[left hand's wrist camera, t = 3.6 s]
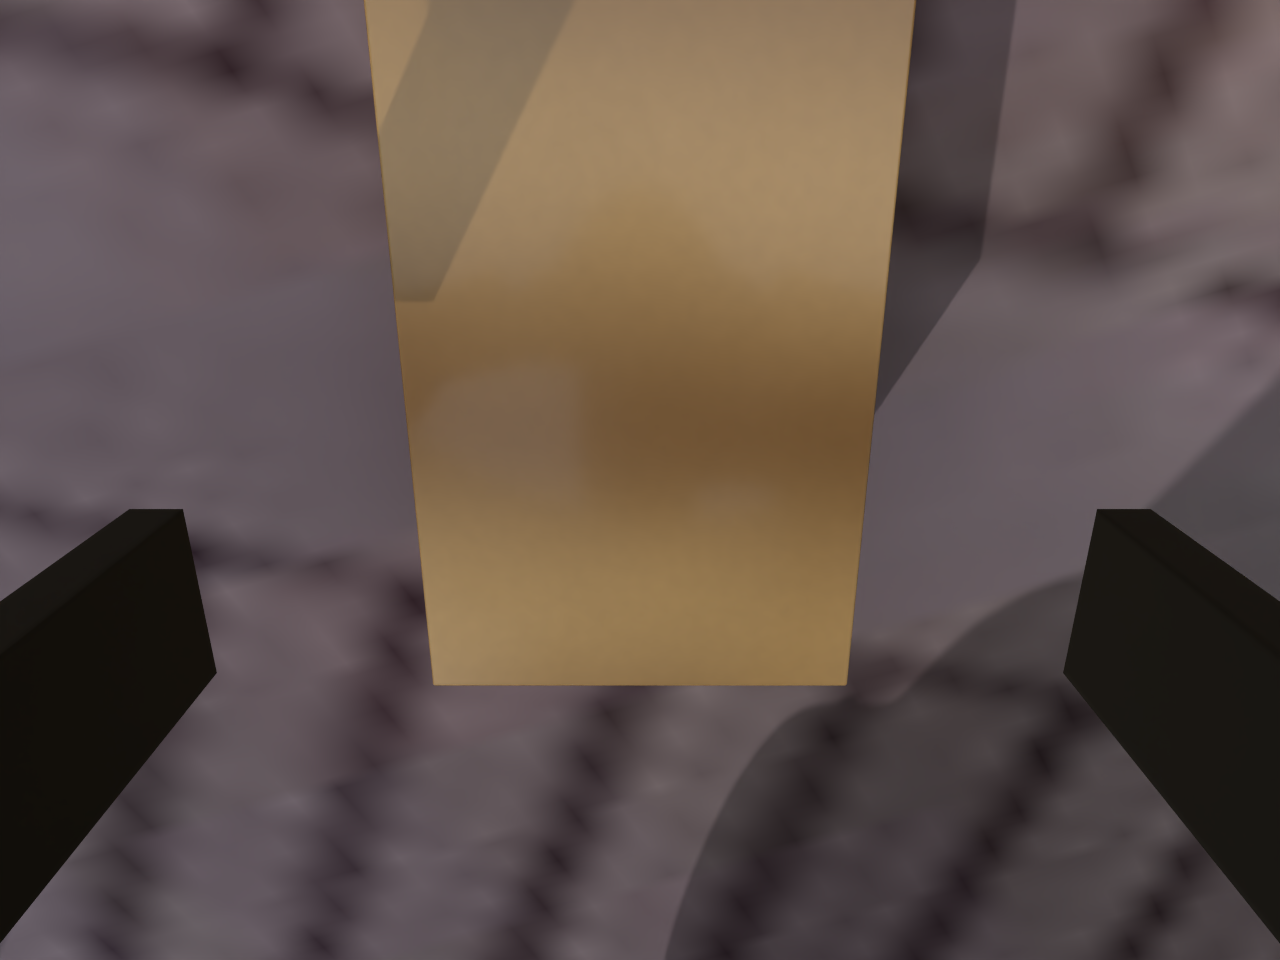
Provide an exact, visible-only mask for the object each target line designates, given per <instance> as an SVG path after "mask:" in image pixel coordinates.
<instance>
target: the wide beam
mask: <svg viewBox="0 0 1280 960" xmlns="http://www.w3.org/2000/svg"><path fill="white" fill-rule="evenodd" d="M364 7H365V17H366V27H367V37H368V47H369V56H370V66H371V76H372V86H373V96H374V106H375V115H376V125H377V135H378V145H379V155H380V165H381V175H382V184H383V194H384V204H385V214H386V224H387V234H388V243H389V253H390V263H391V273H392V283H393V293H394V302H395V312H396V322H397V332H398V342H399V352H400V362H401V371H402V381H403V391H404V401H405V411H406V421H407V430H408V440H409V450H410V460H411V470H412V480H413V490H414V499H415V509H416V519H417V529H418V539H419V549H420V558H421V568H422V578H423V588H424V598H425V608H426V617H427V627H428V637H429V647H430V657H431V667H432V677H433V684H434V685H846V684H847V677H848V667H849V657H850V648H851V638H852V628H853V618H854V608H855V598H856V589H857V579H858V569H859V559H860V549H861V539H862V530H863V520H864V510H865V500H866V490H867V480H868V470H869V461H870V451H871V441H872V431H873V421H874V411H875V402H876V392H877V382H878V372H879V362H880V352H881V343H882V333H883V323H884V313H885V303H886V293H887V284H888V274H889V264H890V254H891V244H892V234H893V225H894V215H895V205H896V195H897V185H898V175H899V165H900V156H901V146H902V136H903V126H904V116H905V106H906V97H907V87H908V77H909V67H910V57H911V47H912V38H913V28H914V18H915V8H916V0H364Z"/></svg>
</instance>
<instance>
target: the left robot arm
mask: <svg viewBox="0 0 1280 960" xmlns="http://www.w3.org/2000/svg"><path fill="white" fill-rule="evenodd" d="M216 673H217V672H216V667H215V662H214V657H213V653H212V648H211V643H210V638H209V633H208V628H207V624H206V619H205V614H204V609H203V604H202V599H201V595H200V590H199V585H198V580H197V575H196V570H195V566H194V561H193V556H192V551H191V546H190V541H189V537H188V532H187V527H186V522H185V517H184V512H183V509H129V510H128V511H126V512H125V513H123V514H122V515H121V516H119V517H118V518H116V519H115V520H114V521H112V522H111V523H109V524H108V525H107V526H105V527H104V528H102V529H101V530H100V531H98V532H97V533H95V534H94V535H93V536H91V537H90V538H88V539H87V540H86V541H84V542H83V543H81V544H80V545H79V546H77V547H76V548H74V549H73V550H72V551H70V552H69V553H67V554H66V555H65V556H63V557H62V558H60V559H59V560H58V561H56V562H55V563H53V564H52V565H51V566H49V567H48V568H46V569H45V570H44V571H42V572H41V573H39V574H38V575H37V576H35V577H34V578H32V579H31V580H30V581H28V582H27V583H25V584H24V585H23V586H21V587H20V588H18V589H17V590H16V591H14V592H13V593H11V594H10V595H9V596H7V597H6V598H4V599H3V600H2V601H0V943H1V941H2V940H3V939H4V938H5V937H6V935H7V934H8V933H9V932H10V930H11V929H12V928H13V927H14V925H15V924H16V923H17V922H18V920H19V919H20V918H21V917H22V915H23V914H24V913H25V912H26V910H27V909H28V908H29V907H30V905H31V904H32V903H33V902H34V900H35V899H36V898H37V897H38V895H39V894H40V893H41V892H42V890H43V889H44V888H45V887H46V885H47V884H48V883H49V882H50V880H51V879H52V878H53V877H54V875H55V874H56V873H57V872H58V870H59V869H60V868H61V867H62V865H63V864H64V863H65V862H66V860H67V859H68V858H69V857H70V855H71V854H72V853H73V852H74V850H75V849H76V848H77V847H78V845H79V844H80V843H81V842H82V840H83V839H84V838H85V837H86V835H87V834H88V833H89V832H90V830H91V829H92V828H93V827H94V825H95V824H96V823H97V822H98V820H99V819H100V818H101V817H102V815H103V814H104V813H105V812H106V810H107V809H108V808H109V807H110V805H111V804H112V803H113V802H114V800H115V799H116V798H117V797H118V795H119V794H120V793H121V792H122V790H123V789H124V788H125V787H126V785H127V784H128V783H129V782H130V780H131V779H132V778H133V777H134V775H135V774H136V773H137V772H138V771H139V769H140V768H141V767H142V766H143V764H144V763H145V762H146V761H147V759H148V758H149V757H150V756H151V754H152V753H153V752H154V751H155V749H156V748H157V747H158V746H159V744H160V743H161V742H162V741H163V739H164V738H165V737H166V736H167V734H168V733H169V732H170V731H171V729H172V728H173V727H174V726H175V724H176V723H177V722H178V721H179V719H180V718H181V717H182V716H183V714H184V713H185V712H186V711H187V709H188V708H189V707H190V706H191V704H192V703H193V702H194V701H195V699H196V698H197V697H198V696H199V694H200V693H201V692H202V691H203V689H204V688H205V687H206V686H207V684H208V683H209V682H210V681H211V679H212V678H213V677H214V676H215V674H216ZM1063 673H1064V674H1065V676H1066V677H1067V678H1068V679H1069V681H1070V682H1071V683H1072V684H1073V686H1074V687H1075V688H1076V689H1077V691H1078V692H1079V693H1080V694H1081V696H1082V697H1083V698H1084V699H1085V701H1086V702H1087V703H1088V704H1089V706H1090V707H1091V708H1092V709H1093V711H1094V712H1095V713H1096V714H1097V716H1098V717H1099V718H1100V719H1101V721H1102V722H1103V723H1104V724H1105V726H1106V727H1107V728H1108V729H1109V731H1110V732H1111V733H1112V734H1113V736H1114V737H1115V738H1116V739H1117V741H1118V742H1119V743H1120V744H1121V746H1122V747H1123V748H1124V749H1125V751H1126V752H1127V753H1128V754H1129V756H1130V757H1131V758H1132V759H1133V761H1134V762H1135V763H1136V764H1137V766H1138V767H1139V768H1140V769H1141V771H1142V772H1143V773H1144V774H1145V775H1146V777H1147V778H1148V779H1149V780H1150V782H1151V783H1152V784H1153V785H1154V787H1155V788H1156V789H1157V790H1158V792H1159V793H1160V794H1161V795H1162V797H1163V798H1164V799H1165V800H1166V802H1167V803H1168V804H1169V805H1170V807H1171V808H1172V809H1173V810H1174V812H1175V813H1176V814H1177V815H1178V817H1179V818H1180V819H1181V820H1182V822H1183V823H1184V824H1185V825H1186V827H1187V828H1188V829H1189V830H1190V832H1191V833H1192V834H1193V835H1194V837H1195V838H1196V839H1197V840H1198V842H1199V843H1200V844H1201V845H1202V847H1203V848H1204V849H1205V850H1206V852H1207V853H1208V854H1209V855H1210V857H1211V858H1212V859H1213V860H1214V862H1215V863H1216V864H1217V865H1218V867H1219V868H1220V869H1221V870H1222V872H1223V873H1224V874H1225V875H1226V877H1227V878H1228V879H1229V880H1230V882H1231V883H1232V884H1233V885H1234V887H1235V888H1236V889H1237V890H1238V892H1239V893H1240V894H1241V895H1242V897H1243V898H1244V899H1245V900H1246V902H1247V903H1248V904H1249V905H1250V907H1251V908H1252V909H1253V910H1254V912H1255V913H1256V914H1257V915H1258V917H1259V918H1260V919H1261V920H1262V922H1263V923H1264V924H1265V925H1266V927H1267V928H1268V929H1269V930H1270V932H1271V933H1272V934H1273V935H1274V937H1275V938H1276V939H1277V940H1278V941H1279V943H1280V601H1278V600H1277V599H1276V598H1274V597H1273V596H1271V595H1270V594H1269V593H1267V592H1266V591H1264V590H1263V589H1262V588H1260V587H1259V586H1257V585H1256V584H1255V583H1253V582H1252V581H1250V580H1249V579H1248V578H1246V577H1245V576H1243V575H1242V574H1241V573H1239V572H1238V571H1236V570H1235V569H1234V568H1232V567H1231V566H1229V565H1228V564H1227V563H1225V562H1224V561H1222V560H1221V559H1220V558H1218V557H1217V556H1215V555H1214V554H1213V553H1211V552H1210V551H1208V550H1207V549H1206V548H1204V547H1203V546H1201V545H1200V544H1199V543H1197V542H1196V541H1194V540H1193V539H1192V538H1190V537H1189V536H1187V535H1186V534H1185V533H1183V532H1182V531H1180V530H1179V529H1178V528H1176V527H1175V526H1173V525H1172V524H1171V523H1169V522H1168V521H1166V520H1165V519H1164V518H1162V517H1161V516H1159V515H1158V514H1157V513H1155V512H1154V511H1152V510H1151V509H1097V512H1096V517H1095V522H1094V527H1093V532H1092V537H1091V541H1090V546H1089V551H1088V556H1087V561H1086V566H1085V570H1084V575H1083V580H1082V585H1081V590H1080V595H1079V599H1078V604H1077V609H1076V614H1075V619H1074V624H1073V628H1072V633H1071V638H1070V643H1069V648H1068V653H1067V657H1066V662H1065V667H1064V672H1063Z"/></svg>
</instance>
